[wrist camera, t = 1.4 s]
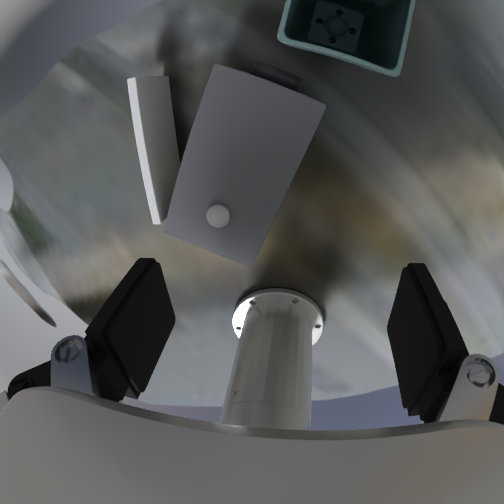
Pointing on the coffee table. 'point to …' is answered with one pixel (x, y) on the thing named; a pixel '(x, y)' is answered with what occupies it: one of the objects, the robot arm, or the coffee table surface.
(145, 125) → the side door
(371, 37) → the flower pot
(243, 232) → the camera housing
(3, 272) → the coffee table surface
